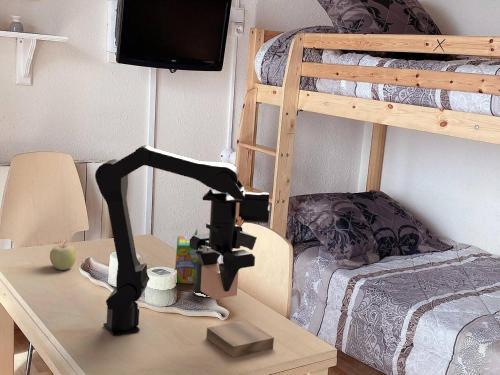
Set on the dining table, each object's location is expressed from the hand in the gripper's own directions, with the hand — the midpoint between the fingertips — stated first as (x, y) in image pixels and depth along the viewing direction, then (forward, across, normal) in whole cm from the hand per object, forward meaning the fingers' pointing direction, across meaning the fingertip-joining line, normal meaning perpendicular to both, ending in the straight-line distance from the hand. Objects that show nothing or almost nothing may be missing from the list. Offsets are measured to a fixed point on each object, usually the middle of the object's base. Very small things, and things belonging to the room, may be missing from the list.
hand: (219, 286), depth 146 cm
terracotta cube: (+2, 0, 0) cm, 2 cm away
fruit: (+12, +60, +15) cm, 63 cm away
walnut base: (+12, -5, -3) cm, 14 cm away
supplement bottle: (+13, +25, -13) cm, 31 cm away
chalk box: (+12, +37, -15) cm, 42 cm away
